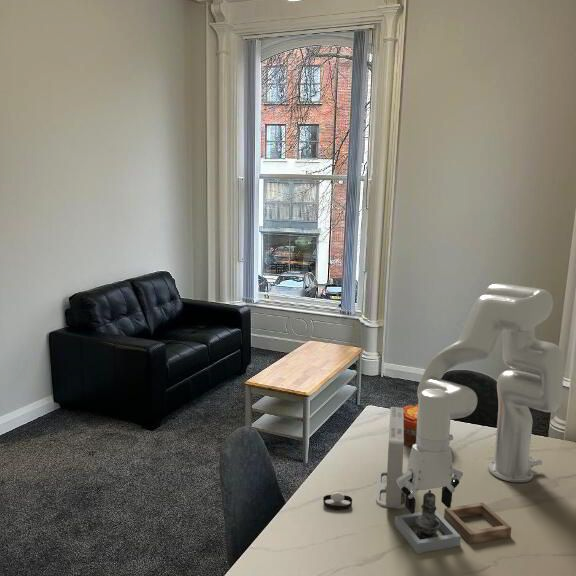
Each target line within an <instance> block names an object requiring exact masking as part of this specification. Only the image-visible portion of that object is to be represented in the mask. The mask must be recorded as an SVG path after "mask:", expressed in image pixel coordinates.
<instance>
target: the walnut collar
mask: <svg viewBox="0 0 576 576" xmlns="http://www.w3.org/2000/svg"><path fill="white" fill-rule="evenodd" d="M443 513H444V514H443V518H444V519H445V520H446V521H447V522H448V523H449V524H450V525H451V526H452V527H453V528H454V529H455V531H456V532H457V533H458V534H459V535H460V536H461V537H462V538H463V539H464V540H465V541H466V542H468V543H469V544H468V545H473V544H477V543H478V544H479V543H483V542H488V541H489V542H490V541H494V540H500V539H506V538H511V537H512V536H511V535H512V526H511V525H509V524H508V523H507V522H506V521H505V519H502V518H501V517H500V516H499V515H498V514H497V513H496V512H495V511H493V510H492V509H491V508H490V507H489V506H488V505H487V504H485V502H475V503H471V504H465V505H458V506H451V508H447V507H445V508H444V512H443ZM479 515H481V516H482V517H484V519H486V520H487V521H488V522H489V523H490V524H491V525H492V527H487V528H481V529H475V530H472V529H471V528H470V527H469V526H468V525H467V524H466V523H465V522H464V521H463V520H462V519H461V518H466V517H473V516H479Z"/></svg>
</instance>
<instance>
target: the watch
mask: <svg viewBox="0 0 576 576" xmlns="http://www.w3.org/2000/svg"><path fill="white" fill-rule="evenodd" d="M322 500H323V505H324V507H326V509H329V510H334V511H346V510H349V509H350V508H351V507H352V506H353V498H352V497H351V496H349V495H345V494H343V493H342V492H340V491H336V492H335V491H334V492H333V493H332V494H326V495H324V496H323V499H322ZM329 500H332V501H333V502H335V503H342V501H348V502H349V503H348V504H346V505H336V504H331V503H328V502H326V501H329Z"/></svg>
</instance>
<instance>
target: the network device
mask: <svg viewBox="0 0 576 576" xmlns="http://www.w3.org/2000/svg"><path fill="white" fill-rule="evenodd" d="M389 412H390V413H389V430H388V445H387V447H388V450H387V468H386V469H387V470H382V471H379V472H378V473H377V480H376V491H375V503H376V504H377V505H379V506H381V507H384V508H391V509H398V510H399V509H401V510H402V509H407V508H406V506H405V502H404V503H402V494H403V495H404V498H405V497H406V494H405V493H404V492H403V491H402V490H401V489H400V488H399V486H398V484H397V482H396V480H397V478H399V477H401V476H402V475H404V474H405V472H403V467H404V466H403V464H404V446H405V444H404V422H403V407H396V406H390V409H389ZM383 475H386V483H383V482H382V476H383ZM408 484H409V482H408V481H407V482H405V487H406V486H407V485H408ZM381 492H386V493H385V494H386V495H385V501H382V500H380V498H381V497H380V496H381V495H380V494H381Z"/></svg>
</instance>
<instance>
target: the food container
mask: <svg viewBox="0 0 576 576" xmlns="http://www.w3.org/2000/svg"><path fill="white" fill-rule="evenodd" d="M402 408H403V422H404V446H406V447H408V448H411V449H412V446H413V445H414V444H416V434H417V415H418V404H415V405H412V404H409V405H406V406H403V407H402Z"/></svg>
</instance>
